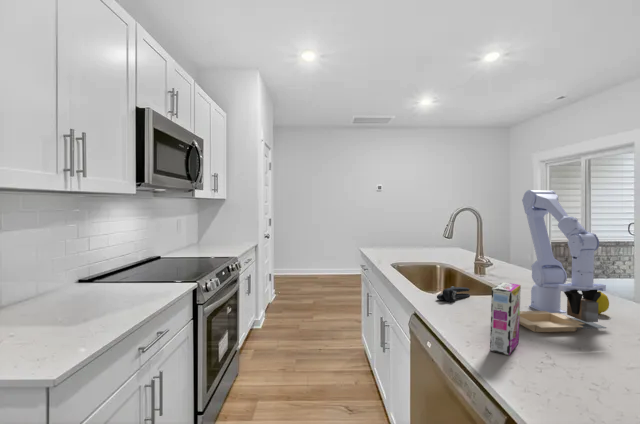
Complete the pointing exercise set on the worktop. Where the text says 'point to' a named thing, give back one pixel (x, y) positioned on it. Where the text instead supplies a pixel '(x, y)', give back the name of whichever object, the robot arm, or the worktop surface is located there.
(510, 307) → the candy bar box
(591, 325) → the rubber mat
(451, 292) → the can opener
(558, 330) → the carton
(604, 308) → the lemon
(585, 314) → the walnut box
